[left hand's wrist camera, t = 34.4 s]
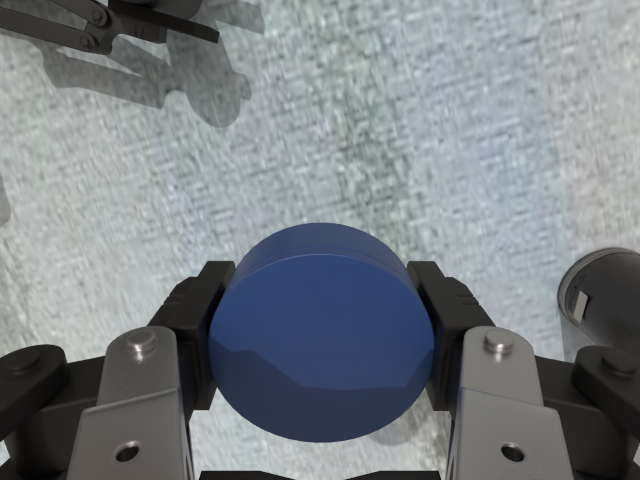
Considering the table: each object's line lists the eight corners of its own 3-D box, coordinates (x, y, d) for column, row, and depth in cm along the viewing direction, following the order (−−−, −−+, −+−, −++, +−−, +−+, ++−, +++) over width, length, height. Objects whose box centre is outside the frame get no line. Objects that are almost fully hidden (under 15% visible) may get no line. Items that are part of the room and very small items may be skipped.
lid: (289, 182, 10) (281, 206, 8) (454, 285, 11) (483, 329, 9) (194, 334, 11) (168, 385, 9) (345, 411, 12) (350, 472, 10)
